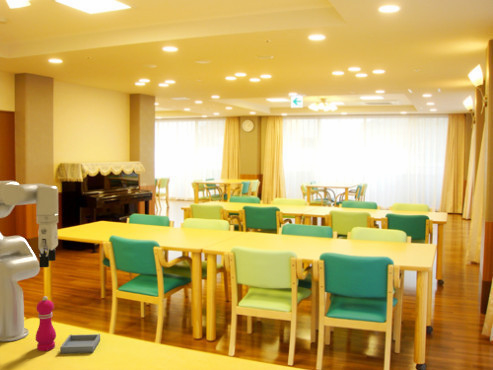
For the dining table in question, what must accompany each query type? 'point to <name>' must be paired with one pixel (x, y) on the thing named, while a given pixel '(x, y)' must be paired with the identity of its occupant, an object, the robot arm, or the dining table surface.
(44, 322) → the pepper mill
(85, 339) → the tray
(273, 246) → the dining table surface
